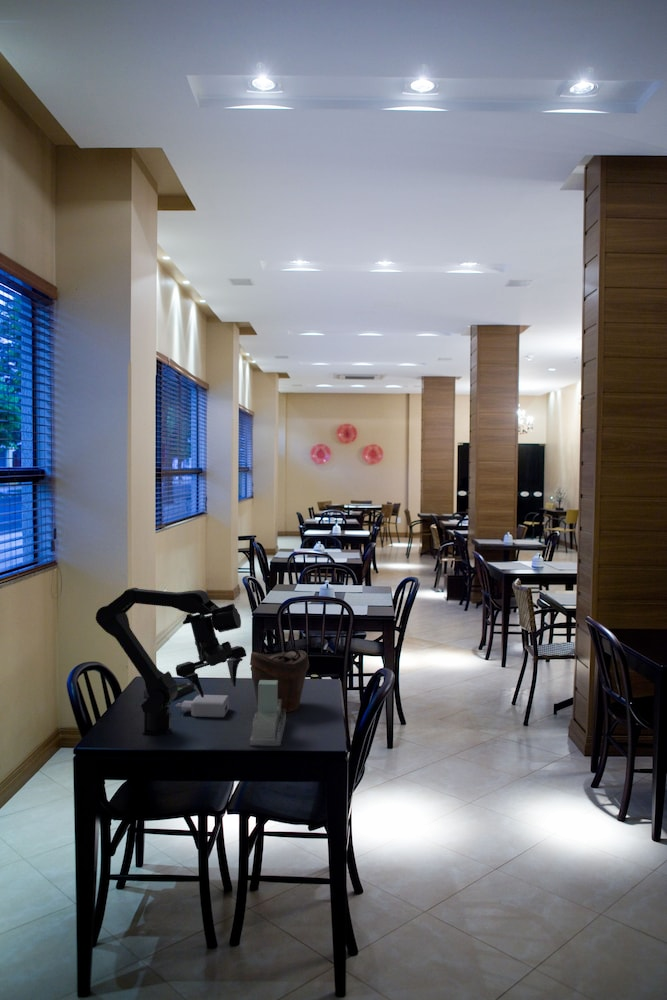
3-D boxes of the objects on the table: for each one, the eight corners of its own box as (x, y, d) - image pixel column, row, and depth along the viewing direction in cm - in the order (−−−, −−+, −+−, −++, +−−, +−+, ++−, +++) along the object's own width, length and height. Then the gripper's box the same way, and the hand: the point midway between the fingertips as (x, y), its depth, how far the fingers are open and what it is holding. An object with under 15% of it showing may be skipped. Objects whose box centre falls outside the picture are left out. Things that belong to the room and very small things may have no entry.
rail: (249, 745, 198) (249, 720, 198) (258, 720, 219) (258, 698, 219) (280, 745, 198) (280, 721, 198) (285, 721, 219) (286, 698, 219)
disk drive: (167, 688, 256) (143, 699, 242) (167, 680, 256) (143, 690, 242) (194, 691, 253) (171, 702, 239) (194, 682, 253) (171, 693, 239)
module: (257, 729, 206) (258, 684, 206) (259, 724, 211) (259, 680, 211) (275, 730, 206) (276, 684, 206) (277, 724, 211) (277, 680, 211)
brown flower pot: (319, 701, 240) (318, 645, 239) (293, 719, 221) (292, 658, 221) (268, 696, 246) (268, 641, 246) (239, 713, 228) (238, 653, 227)
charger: (180, 708, 231) (228, 709, 231) (172, 717, 222) (223, 718, 222) (180, 693, 231) (229, 694, 231) (172, 701, 222) (223, 702, 221)
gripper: (179, 647, 195) (194, 706, 195) (245, 627, 204) (260, 683, 203) (169, 645, 205) (183, 701, 205) (233, 626, 214) (246, 680, 213)
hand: (218, 691), depth 206 cm, fingers open, 9 cm apart
